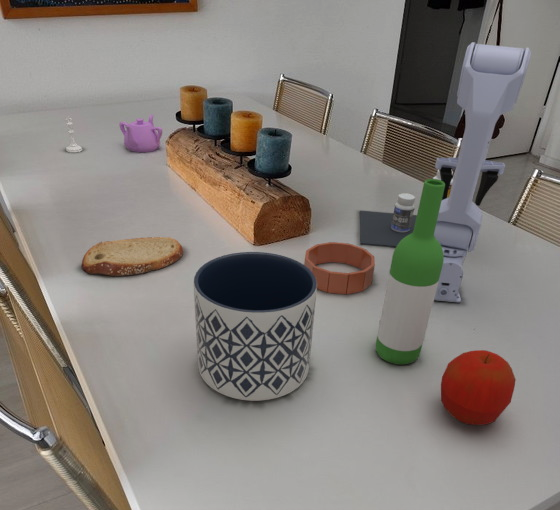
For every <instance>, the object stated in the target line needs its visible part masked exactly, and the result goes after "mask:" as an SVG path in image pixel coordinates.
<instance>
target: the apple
mask: <svg viewBox="0 0 560 510" xmlns="http://www.w3.org/2000/svg"><path fill="white" fill-rule="evenodd" d="M516 380H517V379H516V377H515V374H514V371H513V368H512V367H511V365H510V363H509V362H508V360H506V359H505V358H504V357H502V356H501V355H499V354H497V353H495V352H492V351H488V350H485V349H478V350H468V351H465V352H462V353H460V354H459V355H458V356H456V357H454V358H453V359H452V360H450V361H449V362H448V364H447V365H446V368H445V370H444V372H443V375H442V377H441V382H440V401H441V404H442V405H443V408H444V409H445V410H446V411H447V412H448V413H449V415H450V416H452V417H453V418H454V419H455V420H457V421H458V422H461V423H462V424H466V425H471V426H477V425H479V426H480V425H482V426H483V425H484V426H485V425H488V424H491V423H495V422H496V421H497V419H498V418H500V416H501V414H502V413H503V412H504V411H506V409H507V408H508V406H510V404H511V402H512V399H513V395H514V390H515V386H516Z"/></svg>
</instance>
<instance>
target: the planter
mask: <svg viewBox="0 0 560 510" xmlns="http://www.w3.org/2000/svg"><path fill="white" fill-rule="evenodd" d="M317 290H318V289H317V281H316V278H315V276H314V274H313V273H312V271H311V270H310V269H309V268H307V267H306V266H305V265H304V264H303V263H302V262H300V261H298V260H296V259H294V258H292V257H288V256H285V255H282V254H278V253H271V252H264V251H263V252H261V251H241V252H234V253H228V254H224V255H221V256H217V257H214V258H213V259H210V260H209V261H207V262H206V263H204V264H203V265H201V266H200V267H199V269H198V270H197V271H196V272H195V274H194V277H193V298H194V299H193V301H194V316H195V317H194V318H195V333H196V349H197V350H196V351H197V364H198V371H199V374H200V376H201V378H202V380H203V381H204V382H205V384H206V385H208V387H210V388H211V389H212V390H214V391H216V392H217V393H219V394H221V395H223V396H225V397H228V398H232V399H236V400H241V401H253V402H256V401H257V402H258V401H259V402H260V401H261V402H262V401H268V400H273V399H277V398H282V397H283V396H286V395H288V394H290V393H292V392H293V391H295V390H296V389H298V388H299V387H300V386H301V385H302V384H303V383H304V381H305V380H306V379H307V377H308V374H309V370H310V369H309V368H310V362H311V351H312V341H313V332H314V331H313V330H314V323H315V322H314V321H315V312H316V300H317Z"/></svg>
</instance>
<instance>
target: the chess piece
mask: <svg viewBox="0 0 560 510" xmlns="http://www.w3.org/2000/svg"><path fill="white" fill-rule="evenodd" d="M72 120H73V119H72V118H71V117H70V116H69V115H68V116H67V118H65V121H67V122H66V123H65V125H66V127H67V131H66V132H67V133H69V142H70V144H69V145H68V146H66V148H65V149H66V150H65V151H67V152H68V153H79V152H82V151H83V147H82V146H81V145H78V144H77V143H76V139H75V135H74V133H75V130H74V129H73V126H74V123H73V122H72Z"/></svg>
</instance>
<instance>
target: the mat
mask: <svg viewBox="0 0 560 510" xmlns="http://www.w3.org/2000/svg"><path fill="white" fill-rule="evenodd" d="M393 214H394V212H393V213H392V212H381V211H369V210H359V224H360V225H359V234H360V235H359V236H360V237H359V238H360V245H363V246H374V247H375V246H377V247H387V248H396V247H397V245H398V243H399V242H400V241H401V240H402V239H403V238H405V237H406V236H408V235H409V234H412V233H413V230H414V226H415V222H416V217H417V214H413V217H412V222H411V227H410V230H409V231H408V232H405V233H401V232H396V231H394V230H392V229H391V224H392V219H393Z"/></svg>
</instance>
